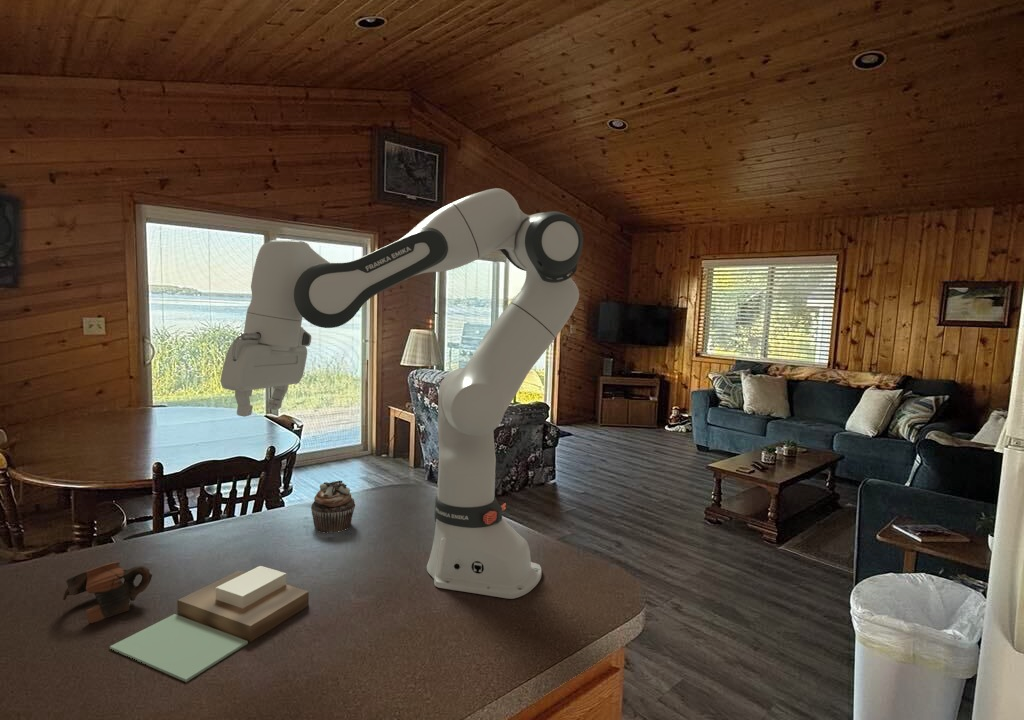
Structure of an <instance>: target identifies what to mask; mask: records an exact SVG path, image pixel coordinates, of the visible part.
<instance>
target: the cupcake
mask: <svg viewBox="0 0 1024 720" xmlns="http://www.w3.org/2000/svg"><path fill="white" fill-rule="evenodd" d="M347 486H348V485H347V484H345V483H344V482H343V481H342V480H337V481H332V482H326V481H324V482H323V483H321V484H319V491H318V492H317V493H316V494H315V495H314V501H313V503H312V505H311V507H310V508H311V516H312V521H313V526H314V529H315V530H316V531H317V530H318V531H317V532H319V531H320V533H323V532H325V533H324V534H333V533H332V532H337V533H339V532H338V531H342V530H345V529H347V528H348V529H350V528H351V526H352V519H353V514H354V512H355V508H356V504H355V503H356V502H355V499H354V498H353V497H352V494H351V490H350V487H347ZM349 527H350V528H349ZM348 529H347V530H348ZM345 531H346V530H345ZM327 532H328V533H327ZM342 532H343V531H342Z"/></svg>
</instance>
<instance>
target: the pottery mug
mask: <svg viewBox="0 0 1024 720" xmlns="http://www.w3.org/2000/svg"><path fill="white" fill-rule="evenodd" d="M139 575H140V576H141V581H140V582H139V584H137V585H136V584H135V583H134V582H135V580H136V577H137V576H139ZM152 577H153V574H152V573H151V572H150V569H149V568H148V567H147V566H144V565H137V566H134V567H131V568H129V569H124V568H123V567H121V564H120V561H113V562H110V563H109V562H108V563H106V564H103V565H100V566H96V567H94V568H91V569H89V570H85V571H84V572H80V573H77V574H75V575H74V576H71V577H69V578H68V579H67V580H65V582H66V584H67V588H66V589H65V591H64V594H63V596H62V597H63V598H62V600H63V601H65V600H66V599H67V597H68V596H77V595H79V594H81V593H84V592H87V593H89V594H93V595H94V597H95V598H96V600H97V602H98V604H96V605H94V606H93V607H90V608H88V609H86V610H85V611H84V614H85V617H86V618H87V621H88V624H89V623H91V624H93V623H97V622H99V621H102V620H104V619H107V618H110V617H114V616H117V615H120V614H123V613H126V612H128V611H129V610H130V603H131V601H135V600H136V598H137V596H138V595H139V594H141V593H142V592H144V591H145V590H146V589H147V588H148V587H149V585H150V583H151V581H152ZM122 579H124V581H123V582H122Z"/></svg>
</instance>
